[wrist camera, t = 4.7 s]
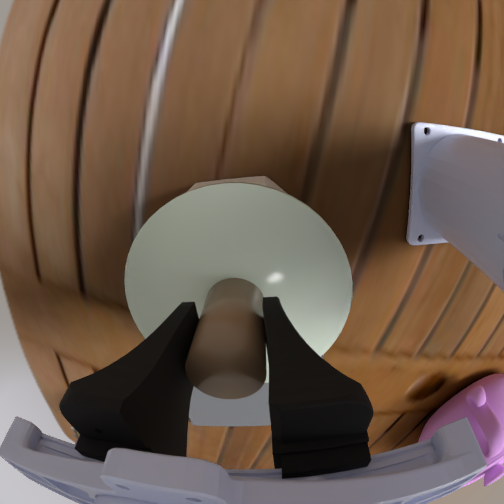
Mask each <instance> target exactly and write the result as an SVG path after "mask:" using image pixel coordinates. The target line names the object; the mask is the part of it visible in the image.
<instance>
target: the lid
mask: <svg viewBox="0 0 504 504" xmlns="http://www.w3.org/2000/svg"><path fill="white" fill-rule="evenodd" d="M124 282H125V294H126V298H127V303H128V307H129V309H130V312H131V315H132V318H133V320H134V321H135V323H136V325H137V327H138V329H139V331H140V332H141V333H142V335H143V336H144V338H145V339H146V338H147V337H148V336H149V335H150V334H151V333H153V332H154V331H155V330H156V329H157V328H158V327H159V326H160V325H161V324H162V323H163V322H164V321H165V320H166V319H167V317H168V316H169V315H170V314H171V313H172V312H173V311H174V310H175V309H176V308H177V307H178V306H179V305H180V304H181V303H182V302H195V305H196V309H197V313H198V317H199V321H198V325H197V328H196V331H195V334H194V337H193V340H192V344H191V347H190V350H189V353H188V356H187V360H186V363H185V372H186V375H187V378H188V379H189V381H190V382H191V383H192V385H193V386H194V387H196V388H197V389H198V390H200V391H201V392H203V393H205V394H207V395H209V396H212V397H215V398H220V399H240V398H245V397H248V396H250V395H252V394H254V393H256V392H257V391H258V390H260V388H261V387H262V386H263V385H264V383H268V382H269V363H268V356H267V348H266V336H265V328H264V318H263V308H262V301H263V297H275V296H277V297H278V298H279V299H280V303H281V305H282V307H283V309H284V311H285V313H286V315H287V317H288V318H289V320H290V321H291V323H292V324H293V326H294V327H295V329H296V330H297V332H298V333H299V334H300V335H301V337H302V338H303V339H304V340H305V342H306V343H307V344H308V345H309V346H310V347H311V348H312V349H313V350H314V351H315V352H316V353H317V354H318V355H319V356H320V357H321V356H322V355H323V354H324V353H325V352H326V351H327V350H328V349H329V348H330V347H331V345H332V344H333V343H334V342H335V340H336V339H337V337H338V336H339V334H340V333H341V331H342V329H343V327H344V325H345V323H346V320H347V317H348V314H349V311H350V307H351V301H352V285H353V283H352V275H351V269H350V265H349V262H348V259H347V255H346V253H345V251H344V249H343V247H342V245H341V243H340V241H339V240H338V238H337V237H336V235H335V234H334V232H333V231H332V229H331V228H330V227H329V225H328V224H327V223H326V222H325V221H324V220H323V219H322V218H321V217H320V216H319V214H317V213H316V212H315V211H314V210H313V209H311V208H310V207H309V206H308V205H306V204H305V203H303V202H302V201H300V200H298V199H297V198H295V197H293V196H292V195H289V194H287V193H285V192H282V191H280V190H278V189H275V188H271V187H268V186H264V185H260V184H254V183H246V182H223V183H216V184H210V185H206V186H202V187H199V188H196V189H192V190H190V191H188V192H186V193H184V194H182V195H179V196H177V197H176V198H174V199H173V200H171V201H170V202H168V203H167V204H165V205H164V206H162V207H161V208H160V209H159V210H158V211H157V212H155V213H154V214H153V215H152V216H151V217H150V218H149V219H148V220H147V222H146V223H145V224H144V225H143V227H142V228H141V229H140V231H139V232H138V234H137V236H136V238H135V239H134V241H133V243H132V246H131V248H130V251H129V254H128V257H127V262H126V267H125V280H124Z"/></svg>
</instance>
